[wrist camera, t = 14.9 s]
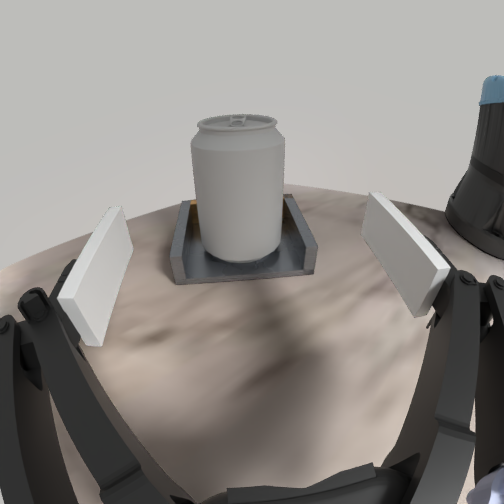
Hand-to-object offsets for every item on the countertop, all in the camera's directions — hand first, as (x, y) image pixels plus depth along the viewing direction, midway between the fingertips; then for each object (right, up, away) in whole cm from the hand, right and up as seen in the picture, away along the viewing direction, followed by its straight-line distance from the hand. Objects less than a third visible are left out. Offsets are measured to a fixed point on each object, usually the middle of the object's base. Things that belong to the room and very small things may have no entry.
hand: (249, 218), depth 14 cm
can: (-1, -1, +13) cm, 13 cm away
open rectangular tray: (-1, -1, +14) cm, 14 cm away
